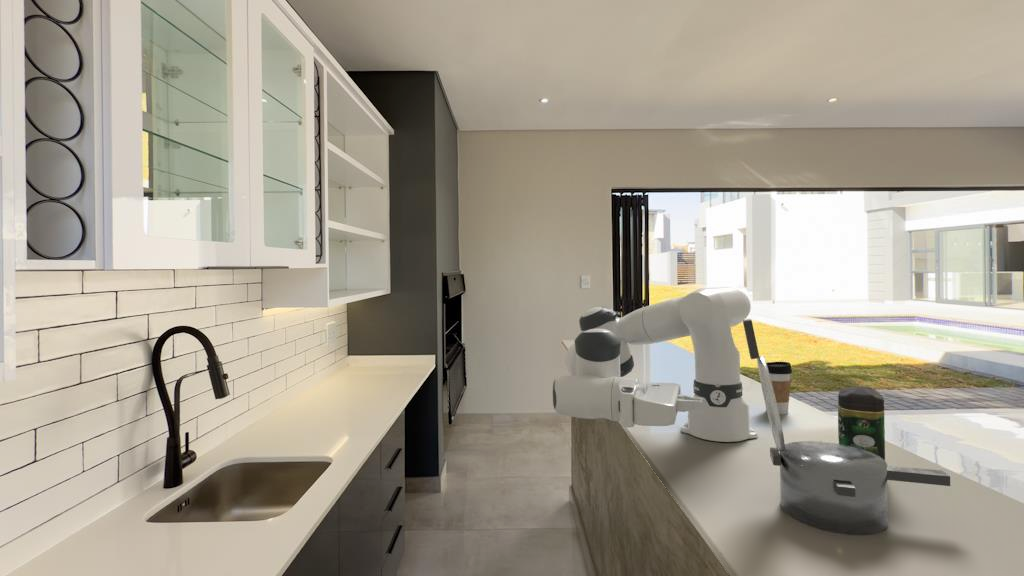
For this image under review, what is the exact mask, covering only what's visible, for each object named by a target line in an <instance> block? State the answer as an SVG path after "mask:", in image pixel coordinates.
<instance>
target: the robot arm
mask: <svg viewBox="0 0 1024 576" xmlns="http://www.w3.org/2000/svg"><path fill="white" fill-rule="evenodd" d="M751 309H752V307H751V301H750V298H749V297H748V296H747V295H746V293H744V292H743V291H741V290H739V289H736V288H734V287H730V286H722V287H719V286H718V287H705V288H704V287H703V288H698V289H695V290H694V291H692V292H689V293H688V294H687V295H685V296H680V297H675V298H671V299H668V300H664V301H661V302H658V303H653V304H650V305H646V306H643V307H641V308H638V309H635V310H633V311H632V312H629V313H627V314H626V315H624V316H621V317H619V316H620V315H621V313H620V312H619V311H615V310H613V309H612V308H609V307H606V306H599V307H598V306H597V307H591V308H590V309H588V310H587V311H585V312H584V313H583V314H582V315H581V316H580V317H579V320H578V321H579V327H580V331H581V332H580V334H578V335H577V336H576V337H575V339H574V342H573V343H572V345H570V346H569V347H568V349H567V351H566V354H565V357H564V359H565V367H566V371H567V373H568V375H565V376H564V375H563V376H556V378H555V379H554V380H553V385H552V405H553V409H554V410H555V412H556V414H557V413H558V414H559V415H563V416H568V417H571V418H572V417H573V418H579V419H585V420H586V419H587V420H598V419H607V420H608V421H613V422H619V423H620V424H621V427H624V428H633V427H634V426H635V425H637V426H641V427H642V426H644V427H646V426H648V427H666V426H667V427H668V426H673V425H675V424H676V420H677V416H678V412H680V413H682V412H683V413H684V412H685V413H686V412H687V420H686V422H684V423H683V425H681V427H680V432H682V433H686V434H688V435H689V434H690V435H692V436H693V437H695V438H699V439H702V440H707V441H713V442H721V443H722V442H724V443H732V442H733V443H734V442H742V441H746V440H748V439H757V438H759V437H758V435H759V434H758V433H757V431H756V430H755V429H754V428H753V427H751V425H750V408H749V407H750V406H749V404H747V402H746V401H745V400H744V399H743V398H742V396H743V389H744V388H743V382H742V381H741V358H740V356H741V354H740V350H739V349H738V348H737V347H736V344H735V342H734V338H733V334H732V329H731V328H732V327H736V326H737V325H740V324H741V323H743V320H747V319H746V318H748V316H749V314H750V313H751ZM687 337H690V338H691V342H692V347H693V351H694V371H695V373H694V374H695V375H694V378H695V379H693V385H692V386H693V393H694V394H693V396H691V395H686V394H681V393H682V391H681V385H680V384H678V383H674V382H646V383H644V384H643V383H642V384H641V382H640V381H641V380H640V378H639V377H630V376H629V377H627V375H629V374H630V373H631V372H632V371H633V370H634V367H635V362H634V357H633V355H632V354H631V350H630V348H629V345H637V346H639V345H640V346H641V345H642V346H644V345H651V344H653V345H654V344H657V343H663V342H666V341H671V340H677V339H681V338H687ZM628 344H629V345H628Z"/></svg>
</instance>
